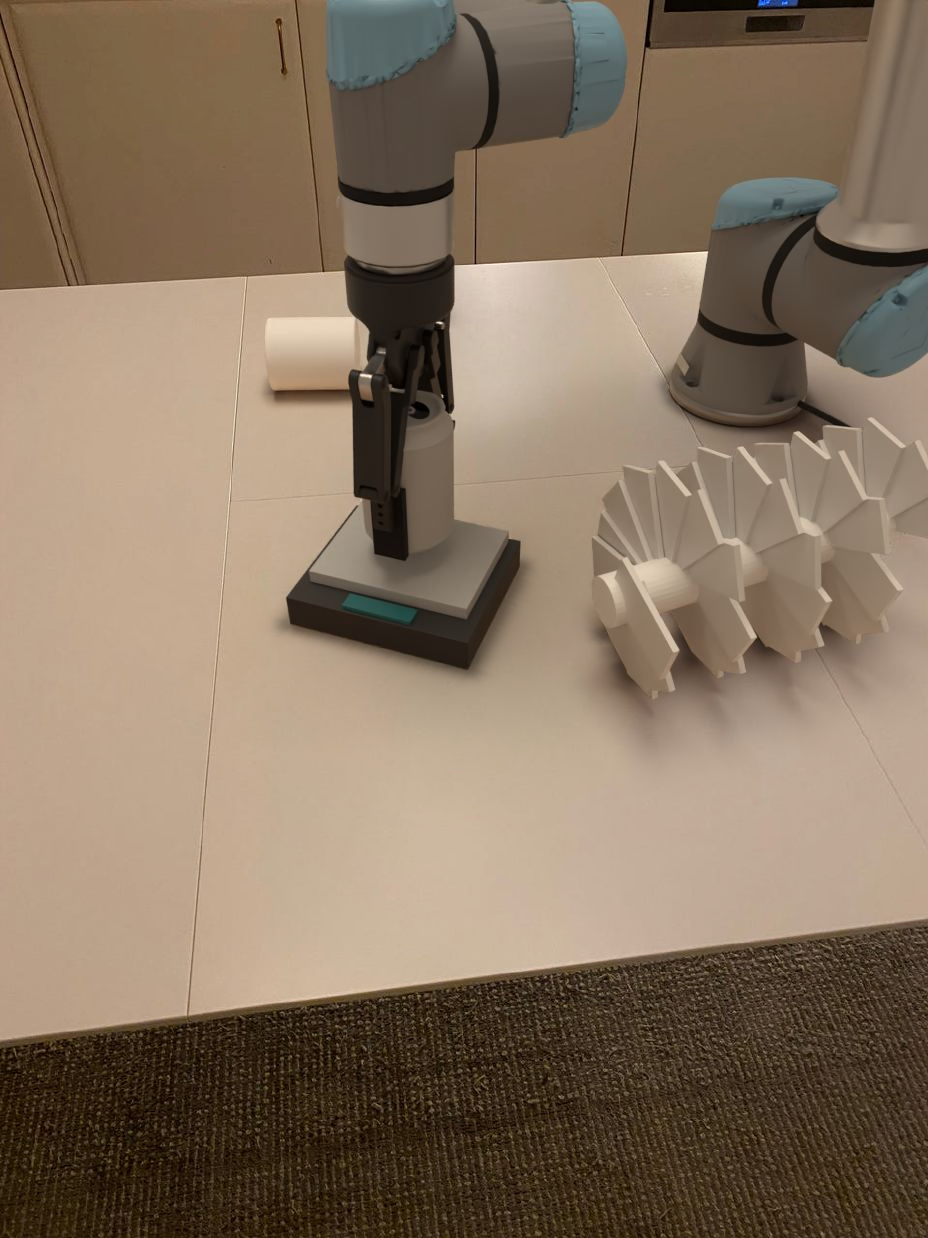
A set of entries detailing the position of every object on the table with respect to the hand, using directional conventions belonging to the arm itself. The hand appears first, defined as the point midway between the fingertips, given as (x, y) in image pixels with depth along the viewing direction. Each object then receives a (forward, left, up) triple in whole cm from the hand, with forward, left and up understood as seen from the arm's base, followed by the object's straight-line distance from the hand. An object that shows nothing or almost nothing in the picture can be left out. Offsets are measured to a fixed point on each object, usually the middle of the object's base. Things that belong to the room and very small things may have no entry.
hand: (410, 526), depth 80 cm
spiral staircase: (-27, -3, -7) cm, 28 cm away
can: (0, 0, -1) cm, 1 cm away
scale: (0, +1, -7) cm, 7 cm away
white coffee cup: (+25, -32, -7) cm, 41 cm away
